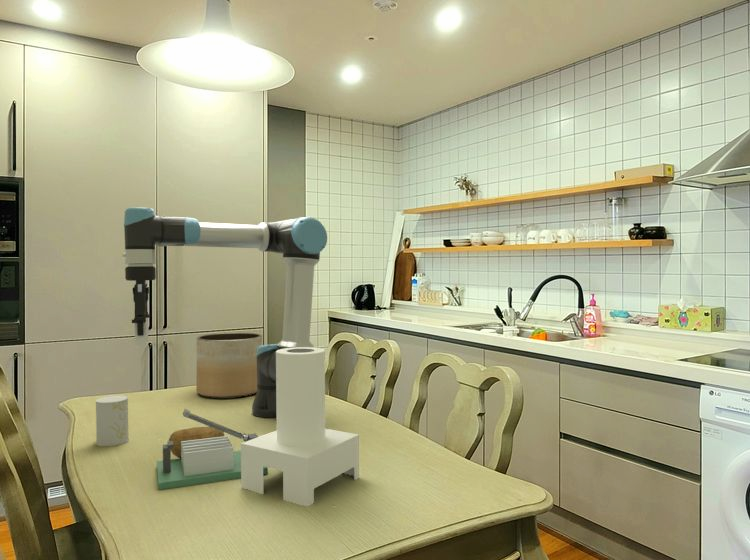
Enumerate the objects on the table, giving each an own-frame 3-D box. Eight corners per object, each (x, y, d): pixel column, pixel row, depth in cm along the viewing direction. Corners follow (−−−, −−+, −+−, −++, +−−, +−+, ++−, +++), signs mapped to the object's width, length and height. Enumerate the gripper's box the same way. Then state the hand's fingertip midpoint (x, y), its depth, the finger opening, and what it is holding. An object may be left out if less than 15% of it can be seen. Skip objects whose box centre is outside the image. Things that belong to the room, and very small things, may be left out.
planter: (184, 398, 208) (183, 339, 208) (214, 384, 233) (214, 332, 233) (248, 401, 204) (247, 340, 203) (272, 386, 229) (272, 332, 228)
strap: (244, 439, 138) (247, 433, 138) (247, 442, 135) (249, 437, 135) (182, 414, 132) (184, 408, 132) (182, 417, 129) (185, 411, 130)
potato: (230, 457, 142) (230, 426, 142) (174, 469, 134) (174, 436, 134) (217, 448, 150) (217, 418, 150) (163, 458, 142) (163, 427, 142)
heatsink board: (255, 454, 145) (255, 424, 145) (267, 473, 131) (267, 440, 131) (157, 467, 136) (156, 435, 136) (158, 489, 122) (158, 454, 122)
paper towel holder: (307, 507, 113) (306, 360, 112) (241, 488, 123) (239, 352, 122) (359, 477, 129) (358, 348, 128) (296, 462, 139) (295, 342, 138)
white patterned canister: (116, 446, 152) (115, 403, 152) (89, 445, 154) (89, 401, 153) (134, 438, 160) (134, 396, 160) (109, 436, 161) (108, 395, 161)
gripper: (128, 266, 159) (129, 339, 160) (121, 265, 136) (123, 352, 137) (156, 265, 162) (157, 338, 163) (154, 265, 139) (156, 350, 139)
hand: (142, 344), depth 150 cm, fingers open, 13 cm apart
